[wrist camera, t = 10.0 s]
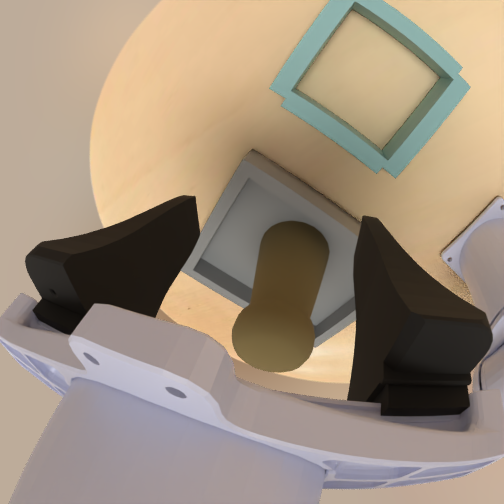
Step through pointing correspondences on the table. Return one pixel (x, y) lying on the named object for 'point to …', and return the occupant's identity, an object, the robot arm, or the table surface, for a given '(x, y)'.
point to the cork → (282, 298)
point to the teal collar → (390, 158)
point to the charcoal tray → (258, 222)
